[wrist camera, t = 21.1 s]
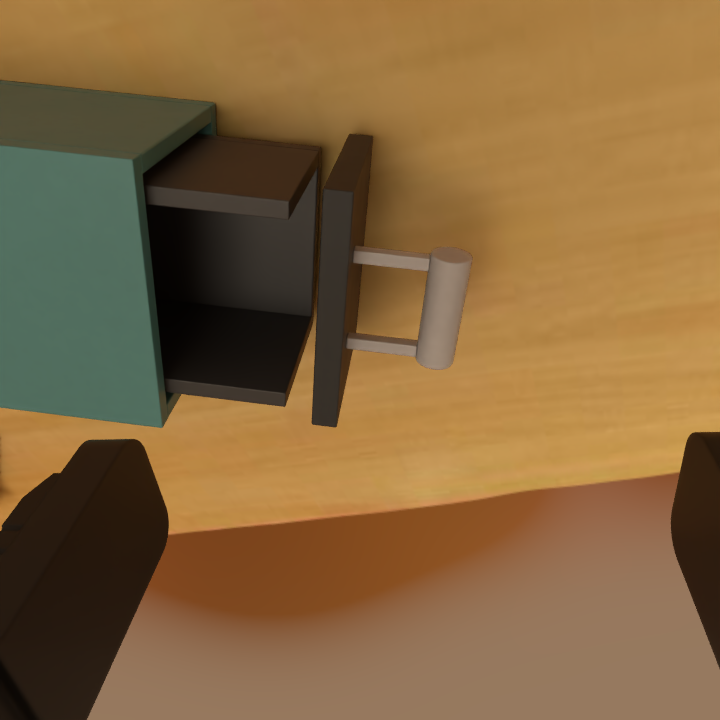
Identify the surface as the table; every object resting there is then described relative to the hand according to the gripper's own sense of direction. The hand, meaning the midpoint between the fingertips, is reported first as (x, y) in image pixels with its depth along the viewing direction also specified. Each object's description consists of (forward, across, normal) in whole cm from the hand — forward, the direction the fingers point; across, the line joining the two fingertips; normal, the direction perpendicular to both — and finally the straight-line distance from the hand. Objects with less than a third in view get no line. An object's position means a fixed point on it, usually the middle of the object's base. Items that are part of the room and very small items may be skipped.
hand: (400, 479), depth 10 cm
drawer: (+25, +8, +6) cm, 27 cm away
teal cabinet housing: (+26, +19, +4) cm, 32 cm away
